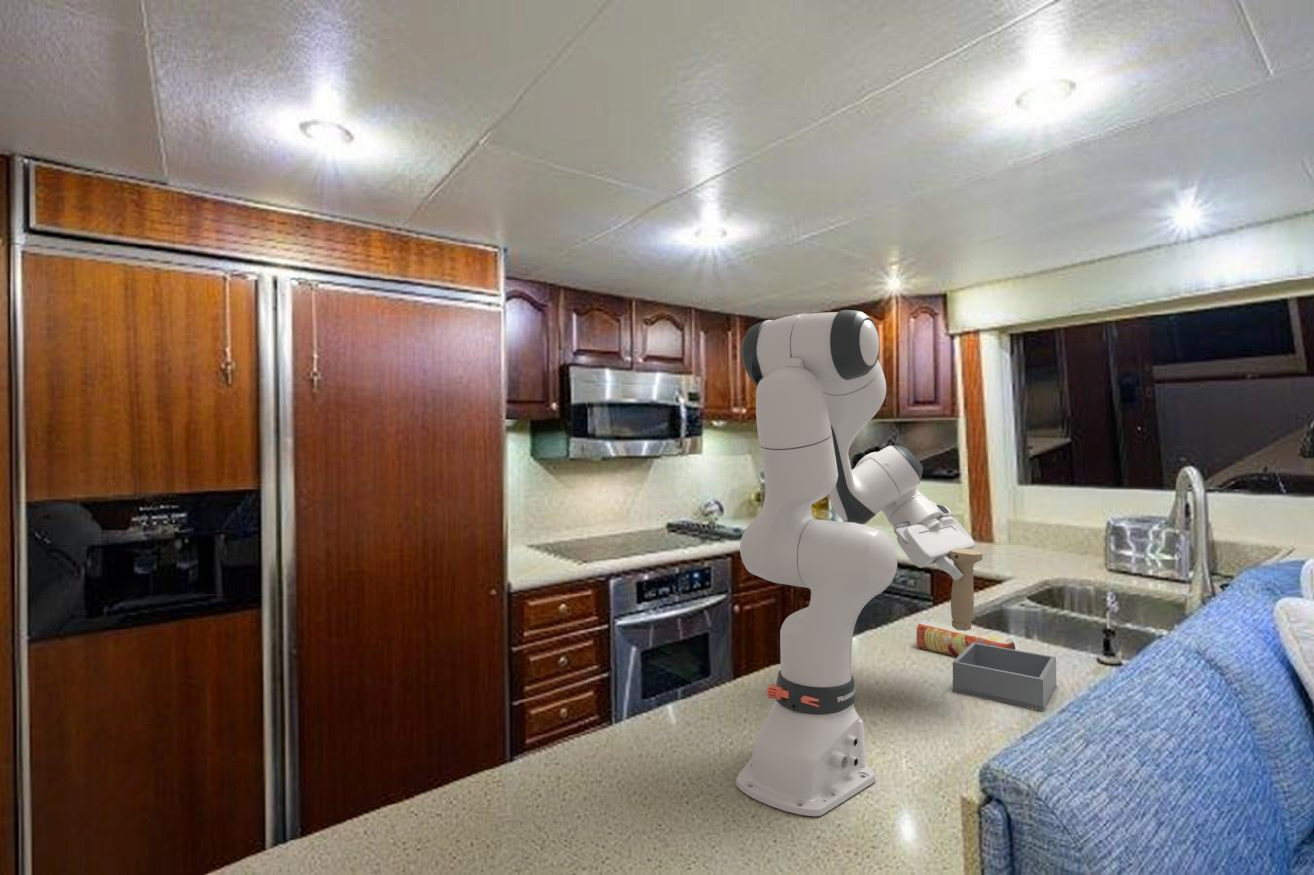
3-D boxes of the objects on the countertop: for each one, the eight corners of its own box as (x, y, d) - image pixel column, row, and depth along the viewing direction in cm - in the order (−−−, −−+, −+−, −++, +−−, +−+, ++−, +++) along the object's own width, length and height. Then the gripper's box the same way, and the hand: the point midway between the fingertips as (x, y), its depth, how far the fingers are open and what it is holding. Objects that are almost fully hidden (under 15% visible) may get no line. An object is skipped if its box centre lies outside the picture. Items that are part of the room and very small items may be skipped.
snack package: (1017, 665, 147) (1017, 635, 147) (1006, 672, 143) (1006, 641, 143) (926, 643, 163) (926, 616, 163) (913, 649, 159) (913, 622, 159)
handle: (953, 622, 128) (956, 546, 127) (984, 631, 122) (987, 553, 122) (938, 626, 125) (941, 549, 125) (969, 636, 120) (972, 555, 119)
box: (1043, 711, 122) (1042, 679, 122) (952, 691, 132) (952, 662, 132) (1056, 685, 134) (1056, 657, 134) (972, 669, 144) (972, 642, 144)
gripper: (900, 514, 122) (952, 574, 115) (950, 506, 135) (1000, 559, 128) (879, 535, 125) (928, 595, 118) (930, 525, 139) (977, 578, 131)
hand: (966, 576), depth 123 cm, fingers closed on handle, 3 cm apart
